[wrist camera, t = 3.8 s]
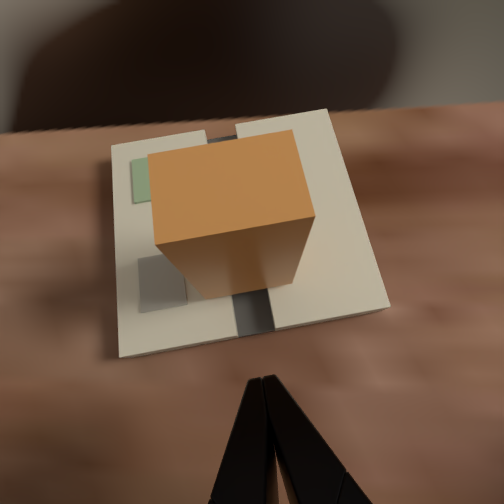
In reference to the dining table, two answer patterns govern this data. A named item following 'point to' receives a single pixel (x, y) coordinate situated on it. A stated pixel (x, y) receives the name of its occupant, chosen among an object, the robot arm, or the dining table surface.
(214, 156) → the switch knob
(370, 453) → the dining table surface
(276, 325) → the switch panel
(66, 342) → the dining table surface
